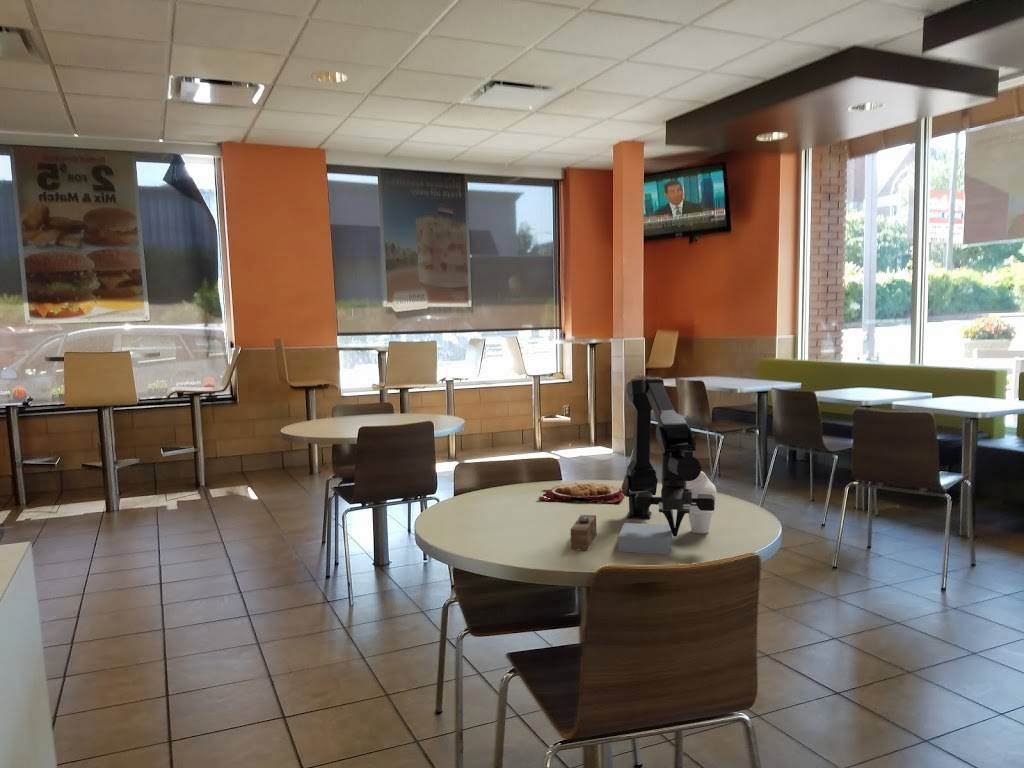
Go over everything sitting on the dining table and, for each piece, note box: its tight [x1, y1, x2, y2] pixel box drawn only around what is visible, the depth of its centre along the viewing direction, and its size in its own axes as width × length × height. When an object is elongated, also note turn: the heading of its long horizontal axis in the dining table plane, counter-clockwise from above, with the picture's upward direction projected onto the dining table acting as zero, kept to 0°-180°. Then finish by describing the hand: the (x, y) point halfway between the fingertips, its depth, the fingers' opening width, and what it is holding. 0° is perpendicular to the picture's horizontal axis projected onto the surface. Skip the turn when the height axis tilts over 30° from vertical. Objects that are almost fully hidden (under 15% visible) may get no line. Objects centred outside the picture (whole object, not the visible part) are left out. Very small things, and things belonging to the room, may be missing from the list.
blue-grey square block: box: [617, 522, 673, 555], centre depth 178 cm, size 12×12×4 cm
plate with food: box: [538, 482, 626, 505], centre depth 235 cm, size 24×26×3 cm
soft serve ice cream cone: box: [686, 470, 717, 534], centre depth 188 cm, size 8×8×16 cm
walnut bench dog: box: [570, 514, 597, 551], centre depth 183 cm, size 14×4×6 cm, turn 164°
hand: (674, 536), depth 177 cm, fingers closed
